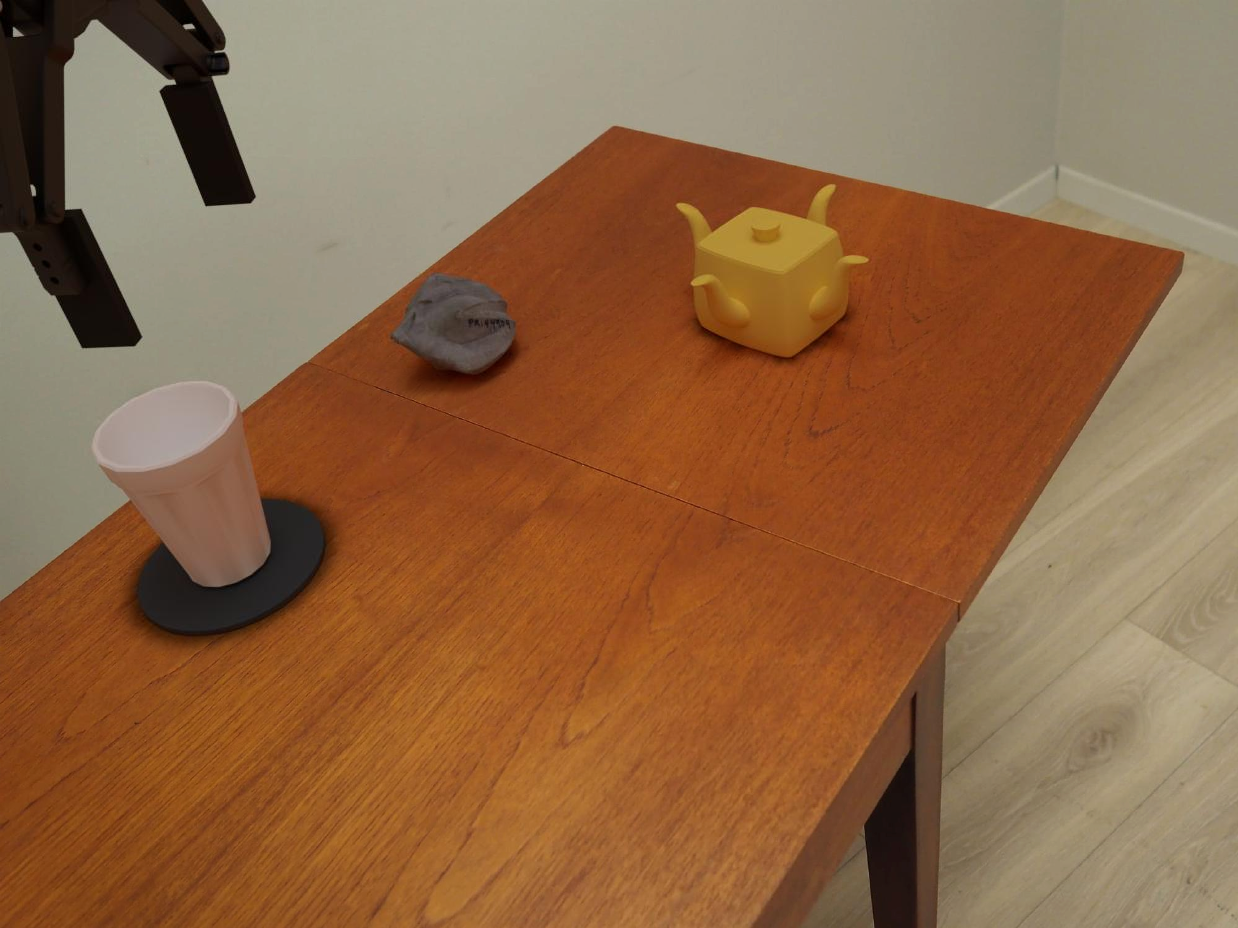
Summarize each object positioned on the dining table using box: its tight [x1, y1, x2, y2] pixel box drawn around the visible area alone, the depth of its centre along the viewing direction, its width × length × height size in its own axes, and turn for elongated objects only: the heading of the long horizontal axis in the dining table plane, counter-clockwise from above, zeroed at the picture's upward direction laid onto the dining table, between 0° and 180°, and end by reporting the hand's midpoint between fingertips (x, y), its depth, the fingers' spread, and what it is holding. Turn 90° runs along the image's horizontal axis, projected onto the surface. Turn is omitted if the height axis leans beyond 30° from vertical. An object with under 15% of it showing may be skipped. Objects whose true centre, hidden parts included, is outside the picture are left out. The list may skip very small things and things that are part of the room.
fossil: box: [390, 272, 517, 376], centre depth 102 cm, size 11×9×8 cm
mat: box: [136, 498, 326, 636], centre depth 88 cm, size 14×14×1 cm
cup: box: [90, 380, 271, 587], centre depth 83 cm, size 10×10×13 cm
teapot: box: [675, 183, 869, 358], centre depth 100 cm, size 15×14×10 cm
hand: (177, 267), depth 59 cm, fingers open, 13 cm apart
